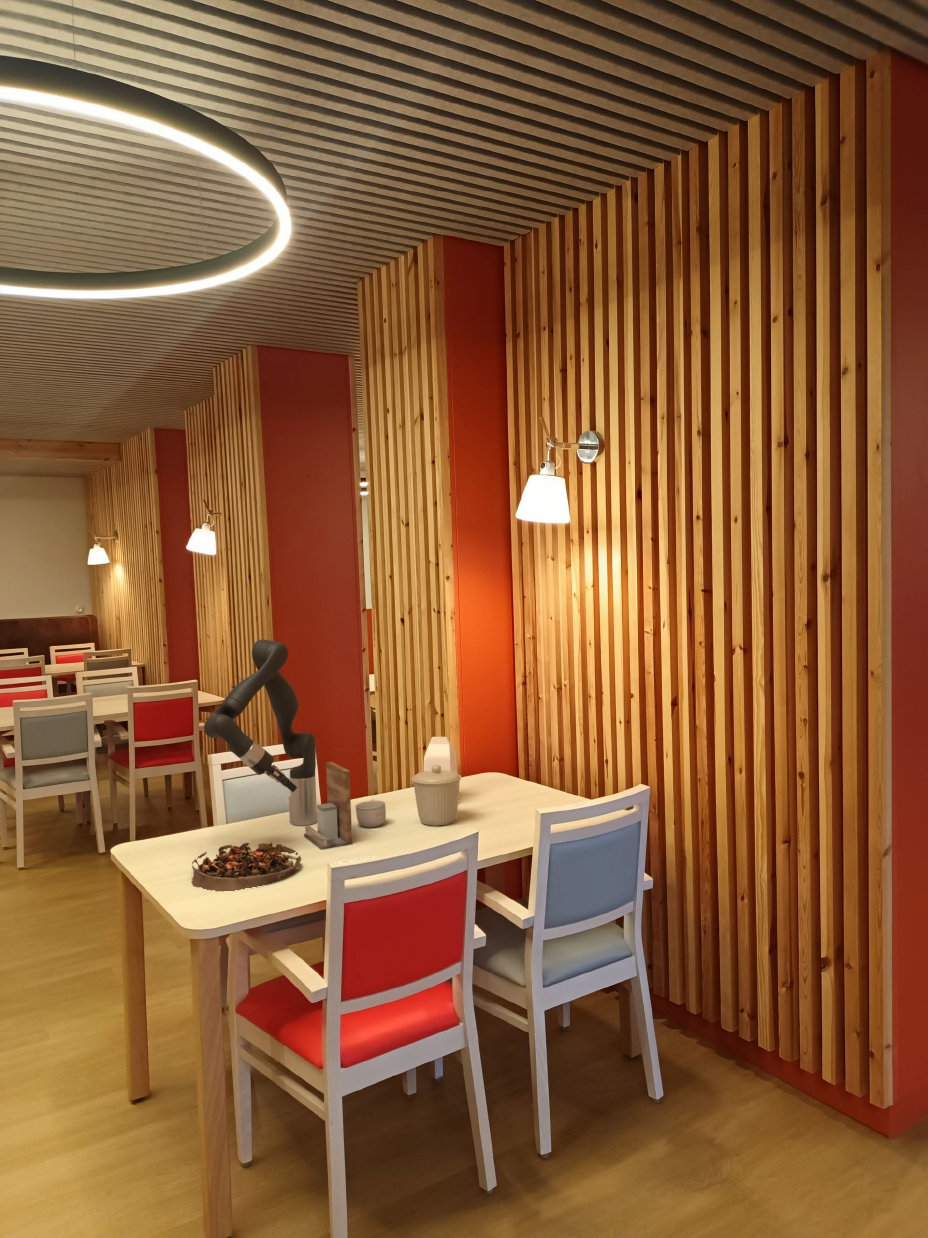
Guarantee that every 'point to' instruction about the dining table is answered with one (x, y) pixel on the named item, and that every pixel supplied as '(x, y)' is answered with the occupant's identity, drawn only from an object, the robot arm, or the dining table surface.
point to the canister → (437, 795)
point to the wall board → (341, 798)
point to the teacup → (371, 813)
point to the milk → (440, 755)
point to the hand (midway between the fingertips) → (291, 787)
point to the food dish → (243, 867)
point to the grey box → (327, 820)
